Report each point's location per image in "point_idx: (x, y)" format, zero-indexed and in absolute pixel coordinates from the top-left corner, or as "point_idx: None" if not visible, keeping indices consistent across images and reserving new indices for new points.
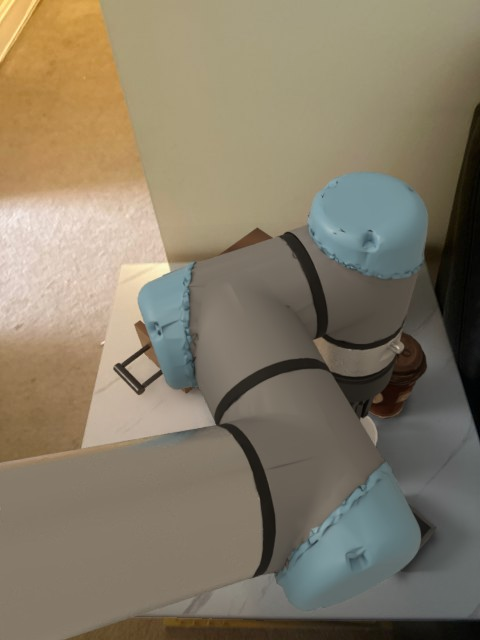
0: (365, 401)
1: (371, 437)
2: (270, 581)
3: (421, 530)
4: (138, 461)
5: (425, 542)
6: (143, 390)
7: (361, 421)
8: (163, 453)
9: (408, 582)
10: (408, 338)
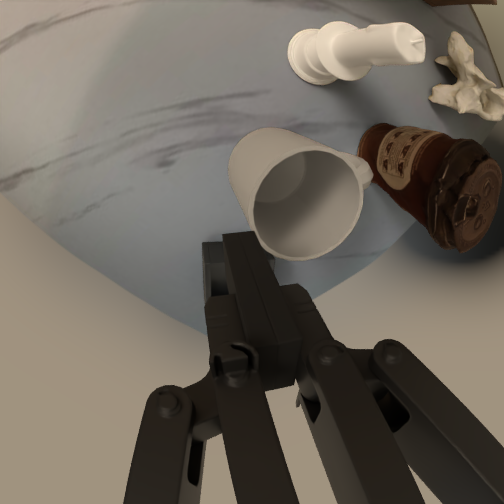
0: (398, 444)
1: (327, 216)
2: (73, 218)
3: None
4: None
5: None
6: None
7: (344, 192)
8: None
9: (201, 308)
10: (493, 210)
